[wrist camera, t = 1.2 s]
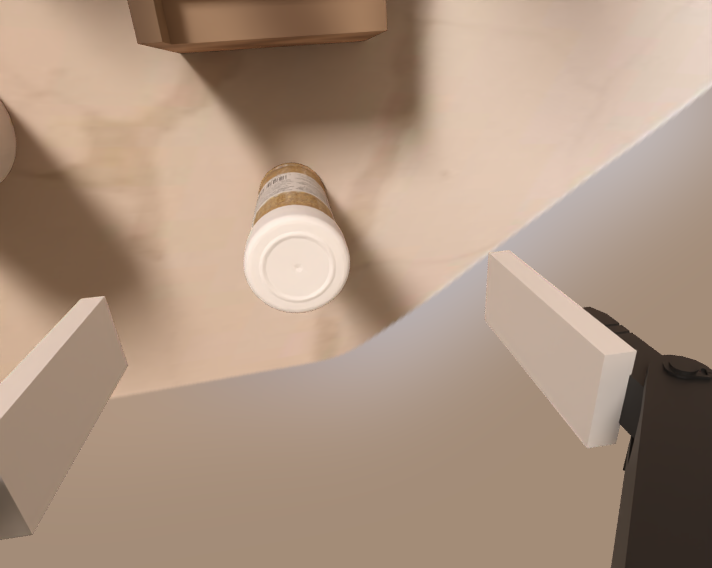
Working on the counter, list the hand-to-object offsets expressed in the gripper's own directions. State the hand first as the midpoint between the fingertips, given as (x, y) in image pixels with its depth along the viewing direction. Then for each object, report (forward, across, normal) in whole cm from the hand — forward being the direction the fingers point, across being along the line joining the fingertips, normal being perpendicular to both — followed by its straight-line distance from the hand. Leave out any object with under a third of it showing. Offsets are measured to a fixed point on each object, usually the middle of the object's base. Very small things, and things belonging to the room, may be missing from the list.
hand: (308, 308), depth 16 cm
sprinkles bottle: (+17, 0, 0) cm, 17 cm away
